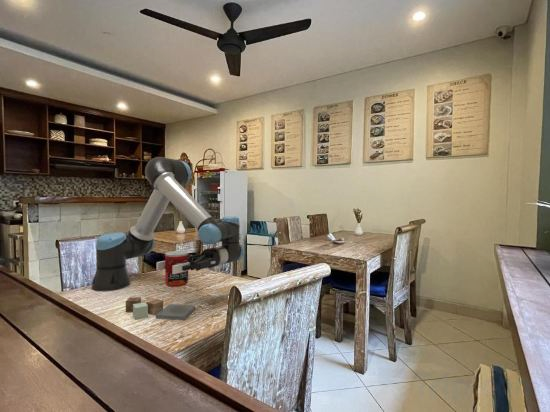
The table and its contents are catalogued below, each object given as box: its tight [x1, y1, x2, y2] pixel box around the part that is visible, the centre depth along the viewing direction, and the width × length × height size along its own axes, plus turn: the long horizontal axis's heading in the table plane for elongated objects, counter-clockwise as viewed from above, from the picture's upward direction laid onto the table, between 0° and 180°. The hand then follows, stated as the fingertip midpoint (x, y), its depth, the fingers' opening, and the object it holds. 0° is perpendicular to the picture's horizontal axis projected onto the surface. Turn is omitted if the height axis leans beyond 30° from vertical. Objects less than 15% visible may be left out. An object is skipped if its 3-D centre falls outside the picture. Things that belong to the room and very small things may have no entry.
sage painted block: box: [132, 301, 149, 321], centre depth 101 cm, size 4×4×4 cm
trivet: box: [155, 303, 196, 321], centre depth 104 cm, size 10×10×1 cm
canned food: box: [164, 250, 189, 288], centre depth 104 cm, size 8×8×11 cm
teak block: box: [145, 298, 164, 316], centre depth 105 cm, size 4×4×4 cm
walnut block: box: [125, 296, 142, 313], centre depth 107 cm, size 4×4×4 cm
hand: (165, 268), depth 100 cm, fingers closed on canned food, 8 cm apart
